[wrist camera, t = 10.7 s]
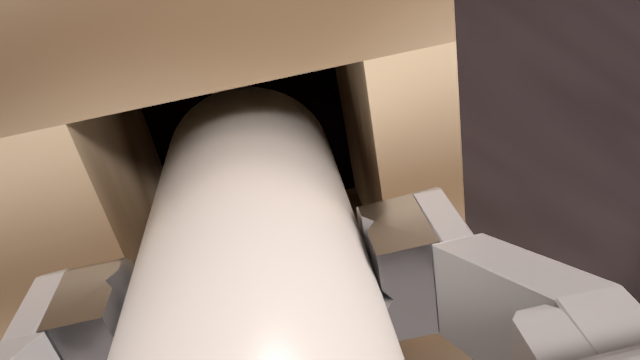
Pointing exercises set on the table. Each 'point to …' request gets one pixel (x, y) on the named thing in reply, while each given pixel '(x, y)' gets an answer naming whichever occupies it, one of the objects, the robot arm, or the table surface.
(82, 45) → the socket block
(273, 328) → the white grey cylinder
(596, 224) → the table surface
